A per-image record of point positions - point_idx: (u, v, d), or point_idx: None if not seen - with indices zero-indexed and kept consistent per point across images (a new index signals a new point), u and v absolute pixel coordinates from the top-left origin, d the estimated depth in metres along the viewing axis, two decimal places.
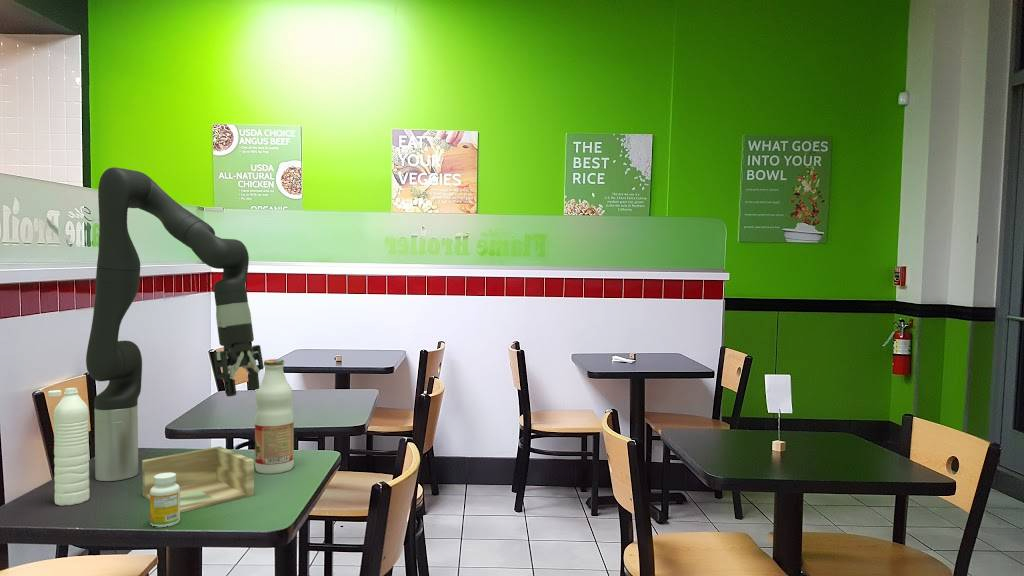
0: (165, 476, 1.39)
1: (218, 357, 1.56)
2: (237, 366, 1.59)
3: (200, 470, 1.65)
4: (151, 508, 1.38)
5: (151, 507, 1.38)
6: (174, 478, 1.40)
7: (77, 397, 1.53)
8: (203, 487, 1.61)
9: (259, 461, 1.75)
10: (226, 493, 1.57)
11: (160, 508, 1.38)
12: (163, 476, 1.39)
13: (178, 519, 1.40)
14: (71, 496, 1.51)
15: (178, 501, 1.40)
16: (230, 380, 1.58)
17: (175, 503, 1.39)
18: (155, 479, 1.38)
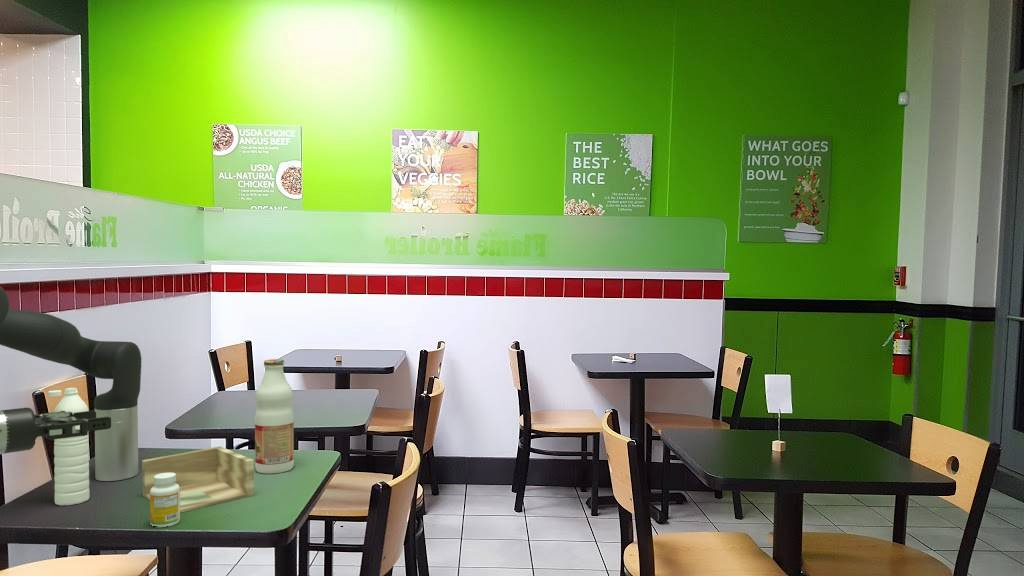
0: (165, 476, 1.39)
1: None
2: None
3: (200, 470, 1.65)
4: (151, 508, 1.38)
5: (151, 507, 1.38)
6: (174, 478, 1.40)
7: (77, 397, 1.53)
8: (203, 487, 1.61)
9: (259, 461, 1.75)
10: (226, 493, 1.57)
11: (160, 508, 1.38)
12: (163, 476, 1.39)
13: (178, 519, 1.40)
14: (71, 496, 1.51)
15: (178, 501, 1.40)
16: None
17: (175, 503, 1.39)
18: (155, 479, 1.38)
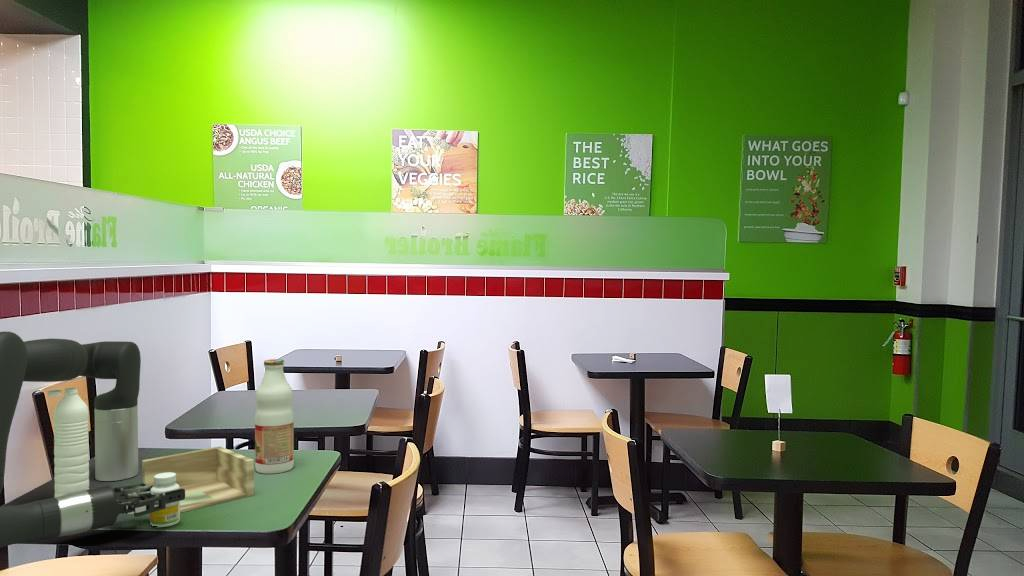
0: (165, 476, 1.39)
1: None
2: None
3: (200, 470, 1.65)
4: None
5: None
6: (174, 478, 1.40)
7: (77, 397, 1.53)
8: (203, 487, 1.61)
9: (259, 461, 1.75)
10: (226, 493, 1.57)
11: None
12: (163, 476, 1.39)
13: (178, 519, 1.40)
14: None
15: (178, 501, 1.40)
16: None
17: (175, 503, 1.39)
18: (155, 479, 1.38)
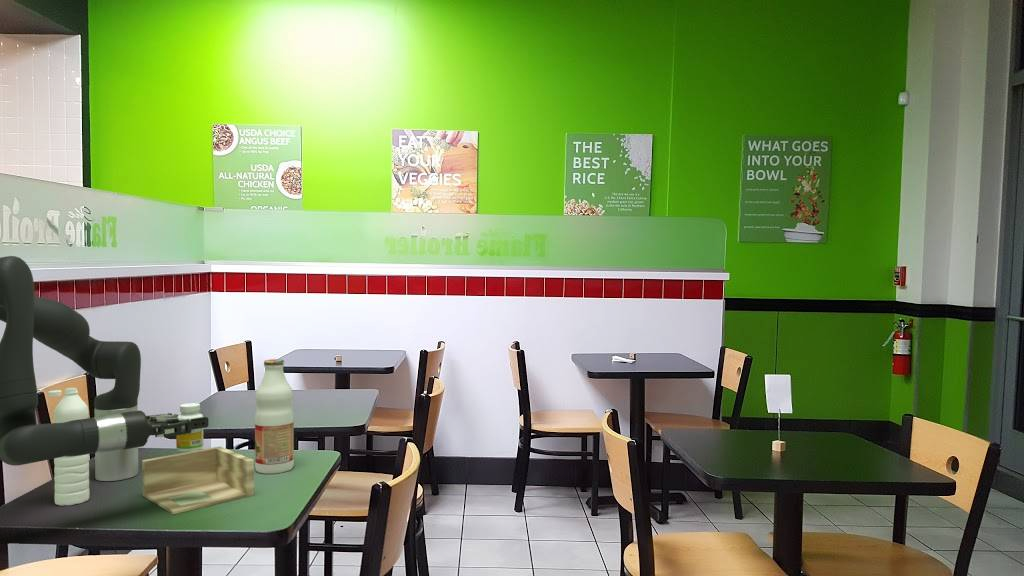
0: (190, 405, 1.52)
1: None
2: None
3: (200, 470, 1.65)
4: None
5: None
6: (198, 407, 1.53)
7: (77, 397, 1.53)
8: (203, 487, 1.61)
9: (259, 461, 1.75)
10: (226, 493, 1.57)
11: None
12: (189, 405, 1.52)
13: (202, 445, 1.53)
14: (72, 496, 1.51)
15: (202, 429, 1.53)
16: None
17: (199, 430, 1.52)
18: (181, 407, 1.52)
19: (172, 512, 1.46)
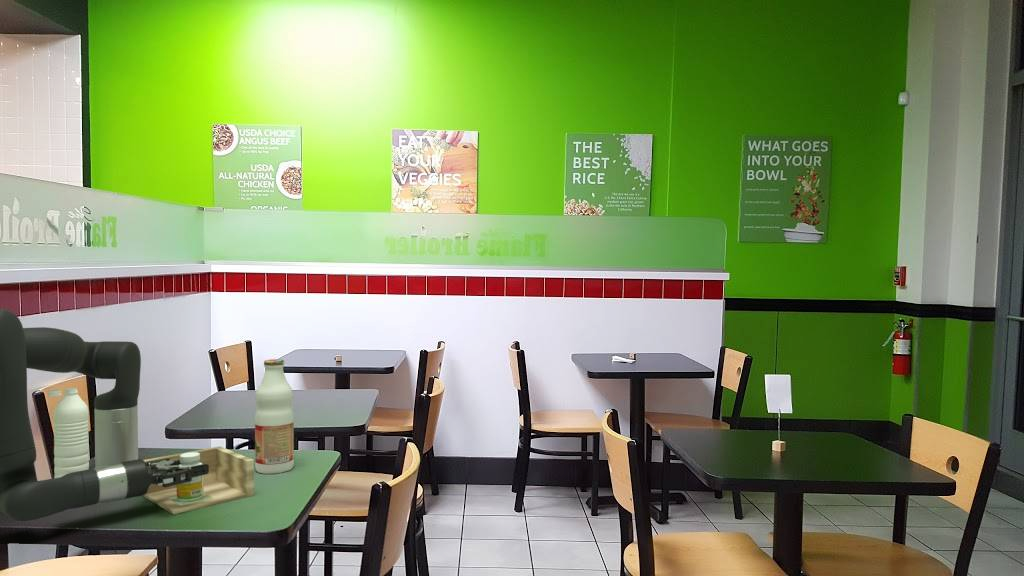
0: (190, 455, 1.53)
1: None
2: None
3: None
4: None
5: None
6: (198, 457, 1.53)
7: (77, 397, 1.53)
8: None
9: (259, 461, 1.75)
10: (226, 493, 1.57)
11: (186, 484, 1.51)
12: (189, 455, 1.52)
13: (202, 494, 1.54)
14: None
15: (202, 478, 1.53)
16: None
17: (199, 480, 1.53)
18: (181, 458, 1.52)
19: (172, 512, 1.46)
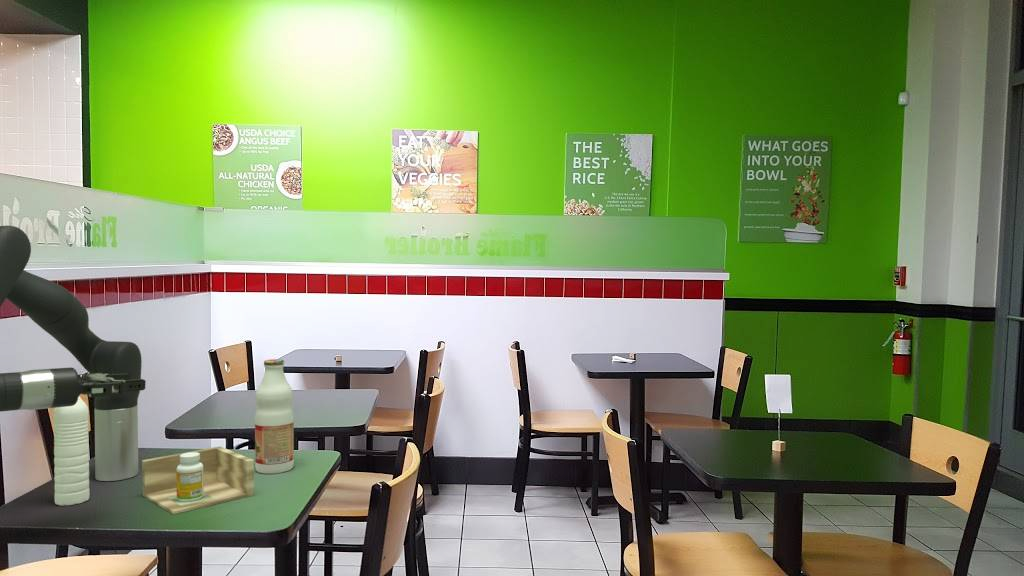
0: (190, 455, 1.53)
1: None
2: None
3: None
4: (177, 484, 1.51)
5: (177, 483, 1.51)
6: (198, 457, 1.53)
7: None
8: None
9: (259, 461, 1.75)
10: (226, 493, 1.57)
11: (186, 484, 1.51)
12: (189, 455, 1.52)
13: (202, 494, 1.54)
14: (72, 496, 1.51)
15: (202, 478, 1.53)
16: None
17: (199, 480, 1.53)
18: (181, 458, 1.52)
19: (172, 512, 1.46)
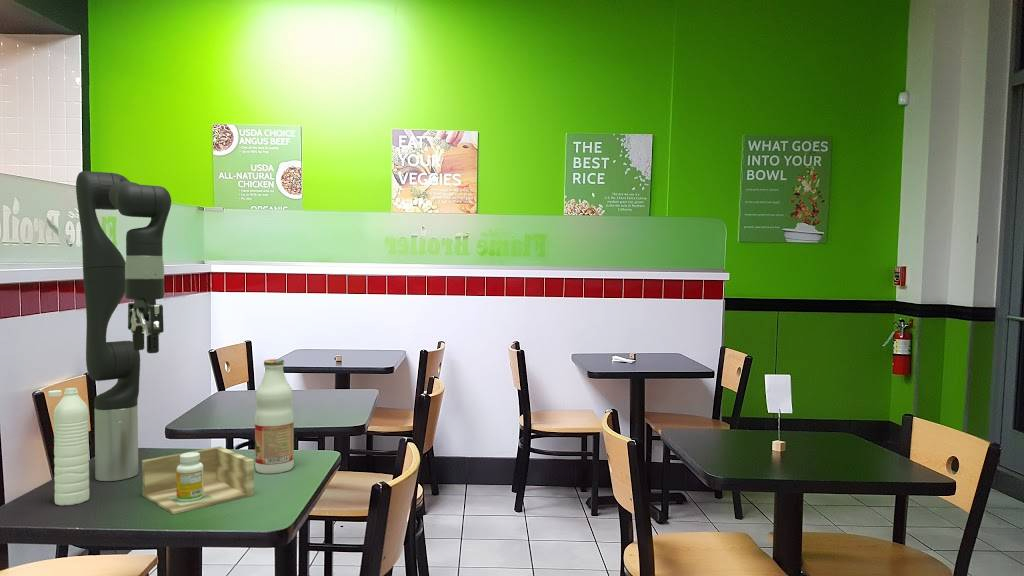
0: (190, 455, 1.53)
1: None
2: (131, 321, 1.53)
3: None
4: (177, 484, 1.51)
5: (177, 483, 1.51)
6: (198, 457, 1.53)
7: (77, 397, 1.53)
8: None
9: (259, 461, 1.75)
10: (226, 493, 1.57)
11: (186, 484, 1.51)
12: (189, 455, 1.52)
13: (202, 494, 1.54)
14: (72, 496, 1.51)
15: (202, 478, 1.53)
16: (133, 334, 1.55)
17: (199, 480, 1.53)
18: (181, 458, 1.52)
19: (172, 512, 1.46)
